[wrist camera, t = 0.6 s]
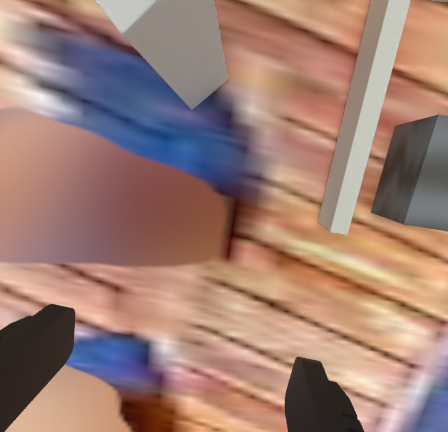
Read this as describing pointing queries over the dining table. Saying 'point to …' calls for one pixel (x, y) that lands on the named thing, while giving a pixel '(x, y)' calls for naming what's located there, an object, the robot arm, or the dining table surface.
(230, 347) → the dining table surface
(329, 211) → the arena
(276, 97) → the dining table surface
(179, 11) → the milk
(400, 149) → the bar
